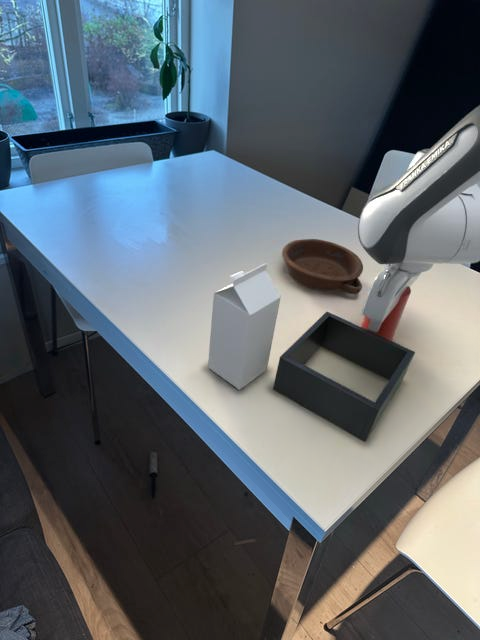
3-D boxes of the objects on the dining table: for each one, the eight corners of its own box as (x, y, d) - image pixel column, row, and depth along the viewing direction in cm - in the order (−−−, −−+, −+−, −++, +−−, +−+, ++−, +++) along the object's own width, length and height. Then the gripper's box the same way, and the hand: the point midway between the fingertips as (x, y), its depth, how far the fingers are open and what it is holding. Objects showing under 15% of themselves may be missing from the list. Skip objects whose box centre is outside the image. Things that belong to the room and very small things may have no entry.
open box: (401, 382, 76) (415, 351, 72) (365, 442, 65) (379, 409, 61) (318, 341, 82) (326, 311, 78) (272, 389, 71) (279, 356, 67)
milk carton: (267, 370, 75) (285, 273, 64) (239, 391, 70) (253, 291, 59) (235, 349, 78) (248, 253, 67) (207, 368, 74) (215, 269, 62)
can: (394, 339, 85) (415, 286, 78) (383, 354, 81) (404, 300, 74) (365, 325, 88) (383, 273, 81) (353, 340, 84) (370, 286, 77)
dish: (330, 313, 90) (336, 292, 87) (257, 264, 103) (259, 245, 100) (380, 287, 100) (386, 268, 97) (307, 246, 112) (311, 228, 109)
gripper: (406, 281, 65) (378, 353, 73) (443, 236, 79) (417, 301, 87) (366, 265, 67) (344, 336, 76) (409, 225, 81) (386, 288, 90)
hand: (383, 317), depth 81 cm, fingers open, 8 cm apart
